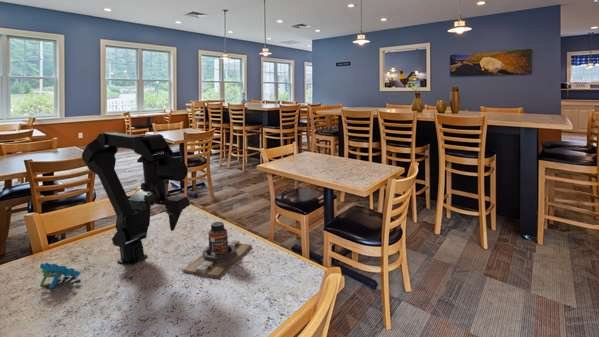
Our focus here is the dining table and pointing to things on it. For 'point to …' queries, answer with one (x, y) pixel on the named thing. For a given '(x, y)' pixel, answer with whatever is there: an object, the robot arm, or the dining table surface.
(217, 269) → the octagonal bottle holder
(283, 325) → the dining table surface
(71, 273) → the teal plastic irregular piece
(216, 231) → the supplement bottle
